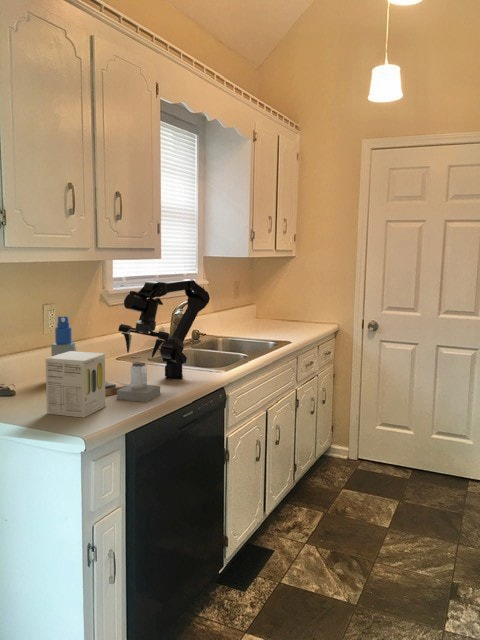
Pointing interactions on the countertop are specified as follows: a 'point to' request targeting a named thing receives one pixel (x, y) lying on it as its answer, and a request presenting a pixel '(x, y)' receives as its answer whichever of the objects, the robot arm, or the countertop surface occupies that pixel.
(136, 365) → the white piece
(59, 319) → the spray bottle
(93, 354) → the supplement box
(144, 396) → the block
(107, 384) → the tan wooden board
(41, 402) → the countertop surface
